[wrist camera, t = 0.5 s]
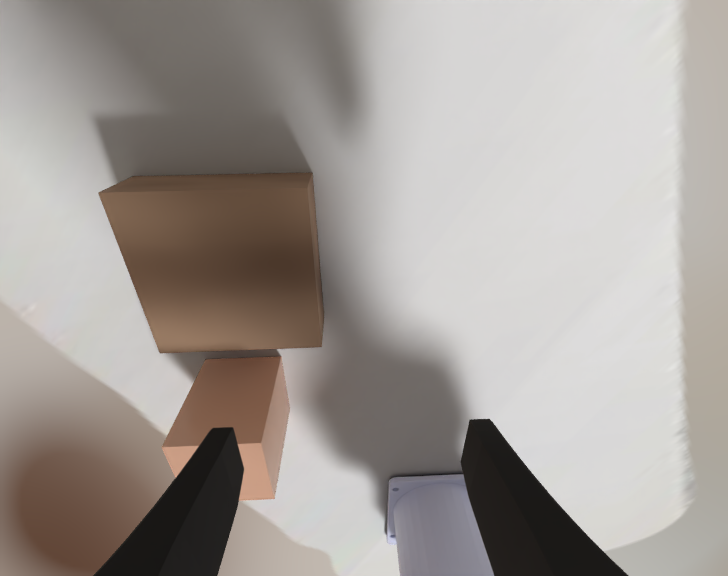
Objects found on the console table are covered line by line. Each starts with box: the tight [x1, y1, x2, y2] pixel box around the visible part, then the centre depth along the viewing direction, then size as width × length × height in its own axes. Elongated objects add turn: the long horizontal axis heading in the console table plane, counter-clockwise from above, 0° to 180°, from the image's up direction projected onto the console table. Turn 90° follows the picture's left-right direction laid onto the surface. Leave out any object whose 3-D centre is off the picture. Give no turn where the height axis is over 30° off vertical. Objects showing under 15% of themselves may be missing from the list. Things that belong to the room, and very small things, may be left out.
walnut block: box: [99, 173, 324, 353], centre depth 17 cm, size 8×8×3 cm
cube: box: [162, 356, 290, 501], centre depth 20 cm, size 4×4×6 cm
